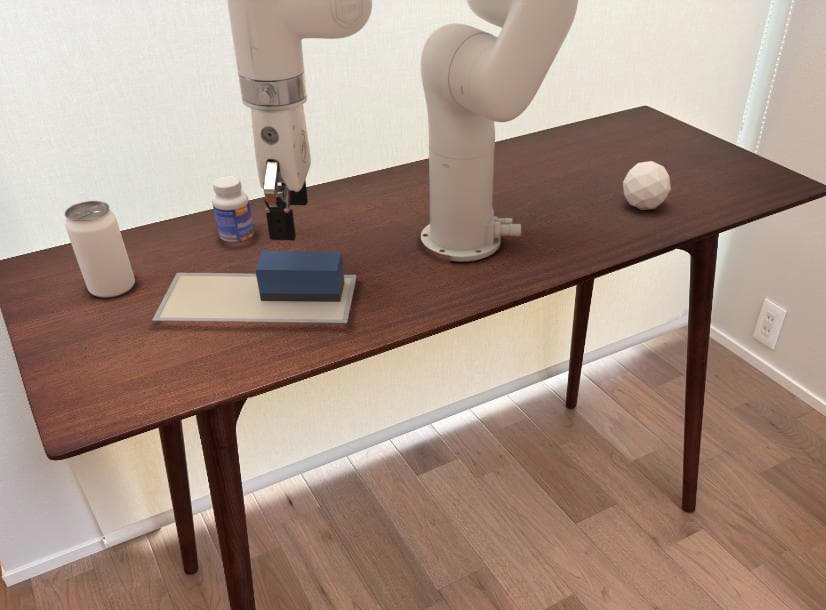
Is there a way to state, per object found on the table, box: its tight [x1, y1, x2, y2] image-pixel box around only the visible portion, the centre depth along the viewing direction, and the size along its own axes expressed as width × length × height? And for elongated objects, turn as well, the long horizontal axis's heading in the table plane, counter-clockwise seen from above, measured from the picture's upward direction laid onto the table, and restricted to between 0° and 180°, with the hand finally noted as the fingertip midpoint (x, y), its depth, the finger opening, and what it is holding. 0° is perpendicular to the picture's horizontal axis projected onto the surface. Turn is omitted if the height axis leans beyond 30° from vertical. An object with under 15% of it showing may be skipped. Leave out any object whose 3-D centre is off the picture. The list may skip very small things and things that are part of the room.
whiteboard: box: [151, 272, 357, 324], centre depth 109 cm, size 26×12×1 cm, turn 90°
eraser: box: [254, 250, 345, 302], centre depth 108 cm, size 11×5×5 cm, turn 90°
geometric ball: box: [622, 160, 672, 211], centre depth 131 cm, size 8×8×8 cm
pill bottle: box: [211, 175, 255, 243], centre depth 120 cm, size 5×5×10 cm
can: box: [64, 200, 136, 299], centre depth 108 cm, size 6×6×12 cm
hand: (289, 221), depth 102 cm, fingers open, 9 cm apart
